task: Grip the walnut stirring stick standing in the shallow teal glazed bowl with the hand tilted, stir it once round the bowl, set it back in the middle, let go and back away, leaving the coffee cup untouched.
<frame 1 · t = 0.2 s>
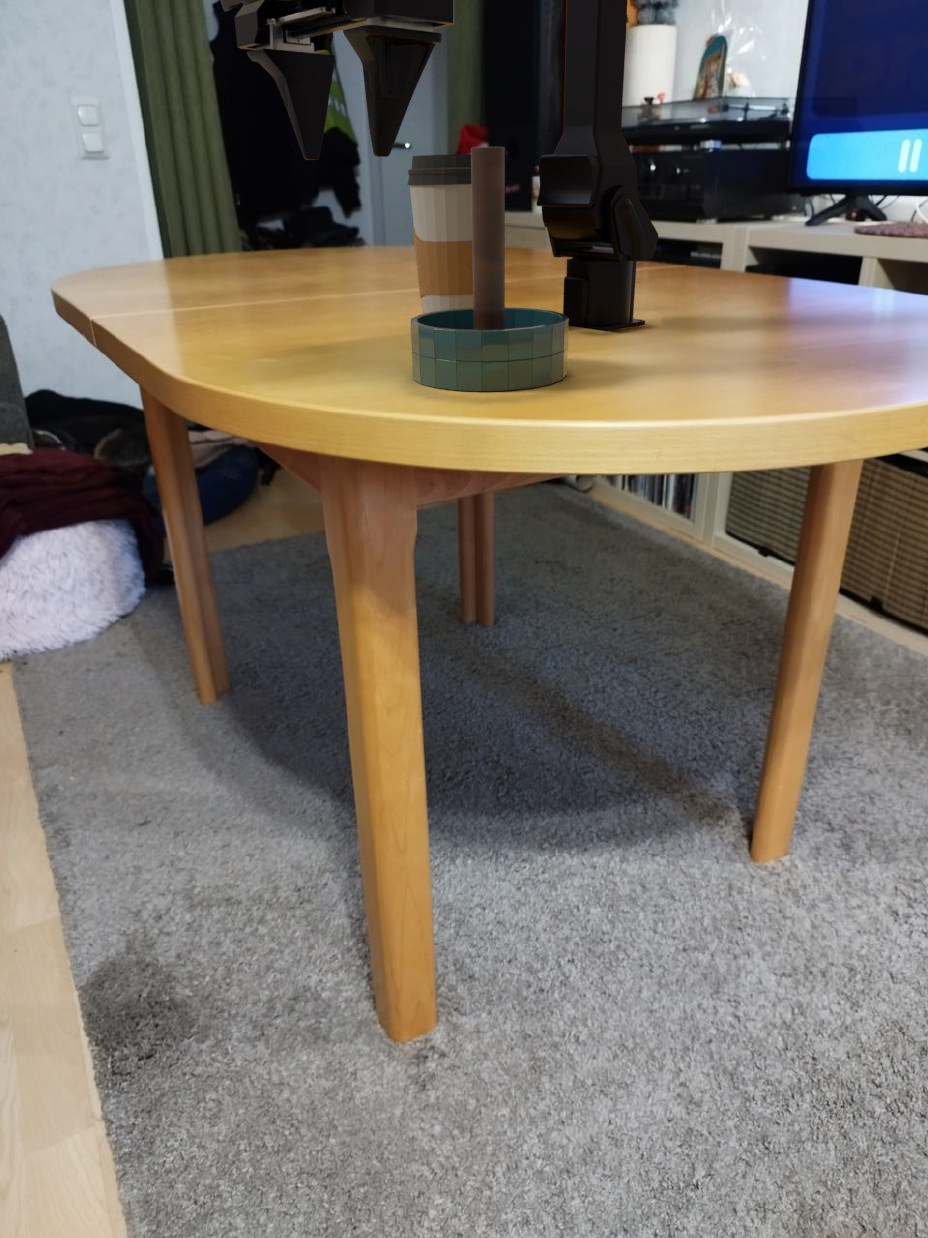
hand: (344, 158, 64), 15 cm above the table, tool pointing down, fingers open, 9 cm apart
coffee cup: (457, 334, 85), on the table
bowl: (489, 382, 64), on the table
stick: (489, 374, 64), point 1 cm above the table, touching bowl
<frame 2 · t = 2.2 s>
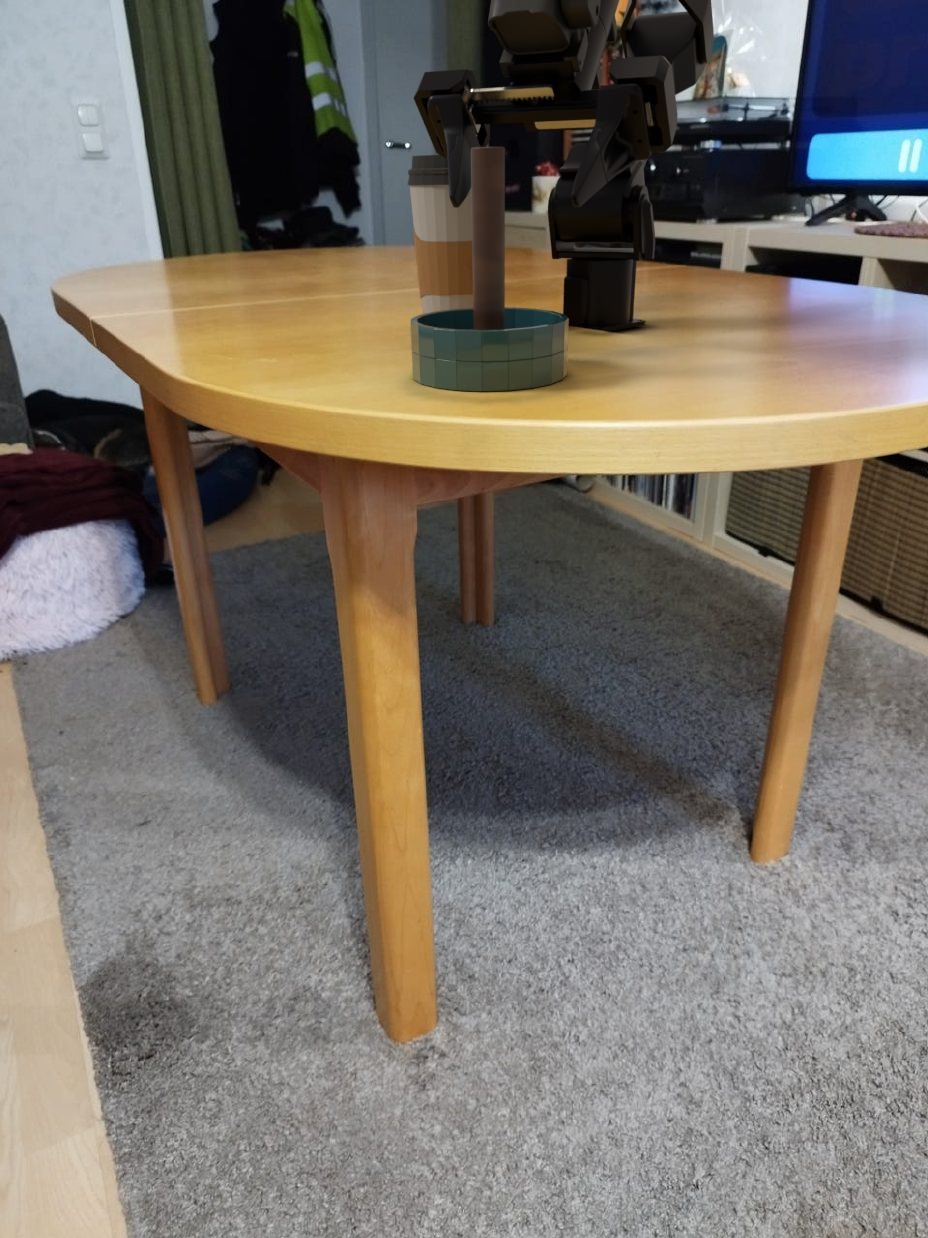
hand: (512, 202, 63), 12 cm above the table, tool tilted 45°, fingers open, 9 cm apart
nothing on the table moved.
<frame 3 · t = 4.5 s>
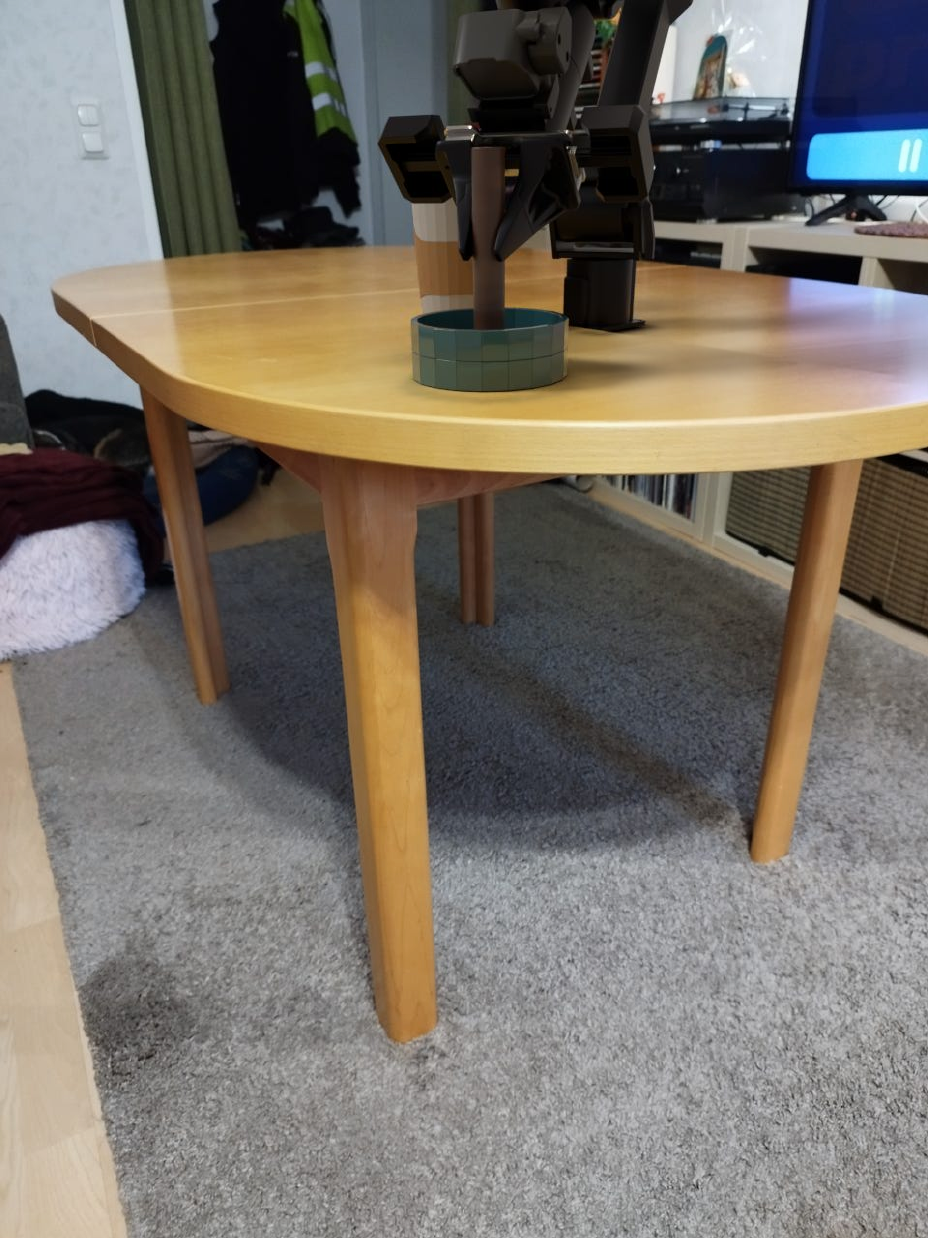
hand: (480, 256, 59), 9 cm above the table, tool tilted 45°, fingers closed on stick, 2 cm apart
stick: (489, 374, 64), point 1 cm above the table, touching bowl, gripper
everything else where it was.
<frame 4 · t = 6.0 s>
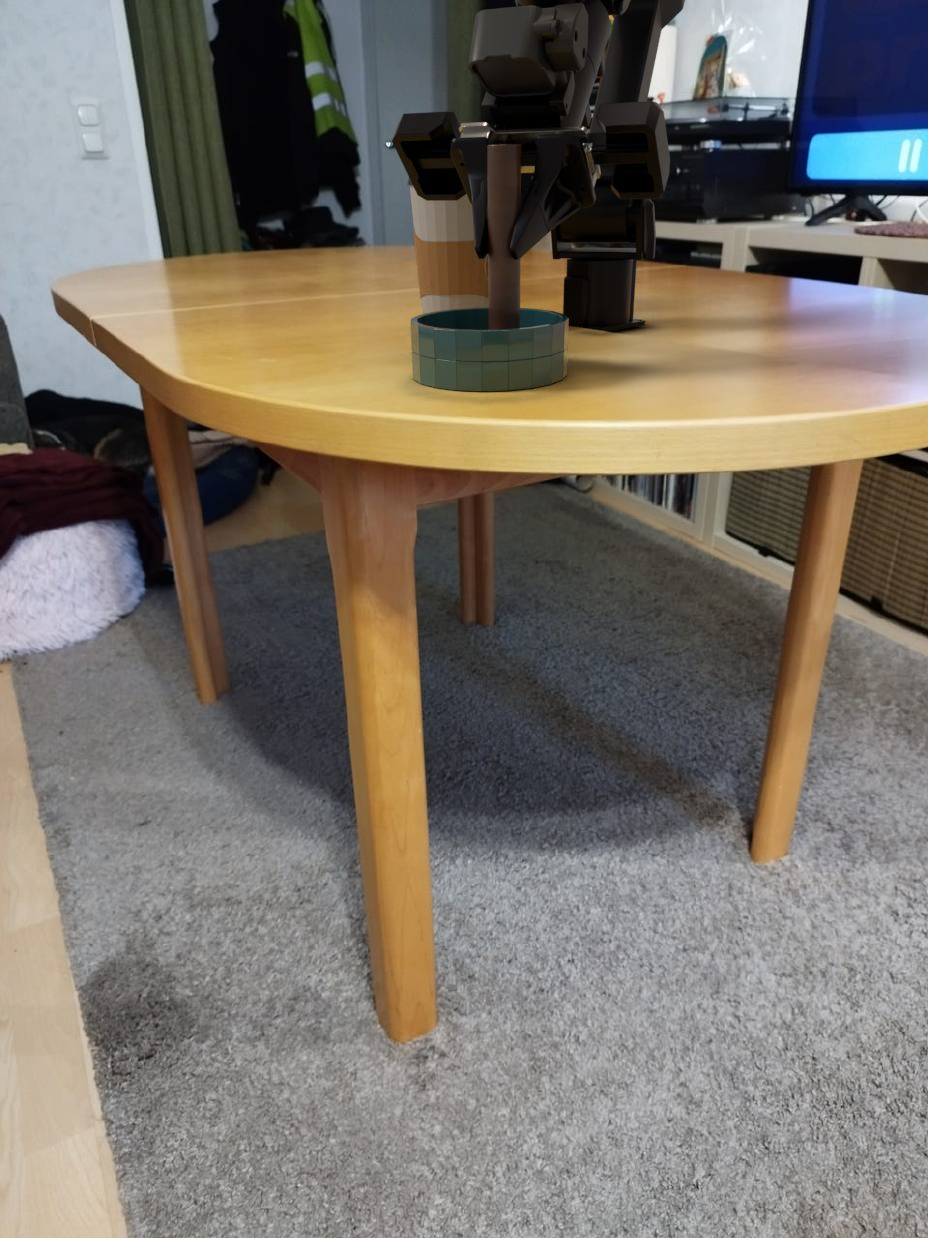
hand: (496, 254, 59), 9 cm above the table, tool tilted 45°, fingers closed on stick, 2 cm apart
stick: (504, 372, 64), point 1 cm above the table, touching gripper
everything else where it was.
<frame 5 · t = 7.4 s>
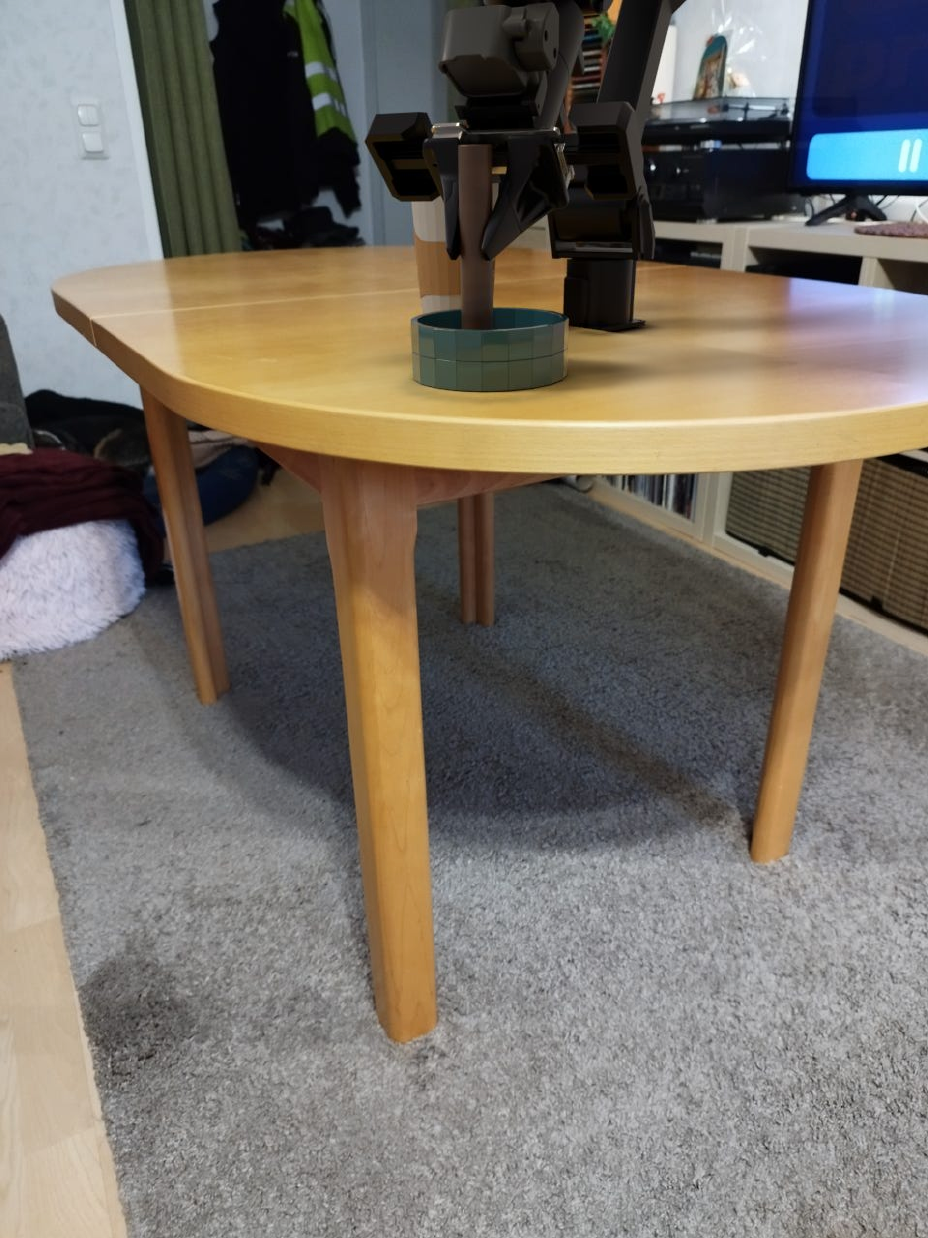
hand: (467, 255, 59), 9 cm above the table, tool tilted 45°, fingers closed on stick, 2 cm apart
stick: (478, 374, 64), point 1 cm above the table, touching gripper
everything else where it was.
when the fingers open (9 cm above the table, at t = 8.0 s): stick stays where it is, resting on bowl.
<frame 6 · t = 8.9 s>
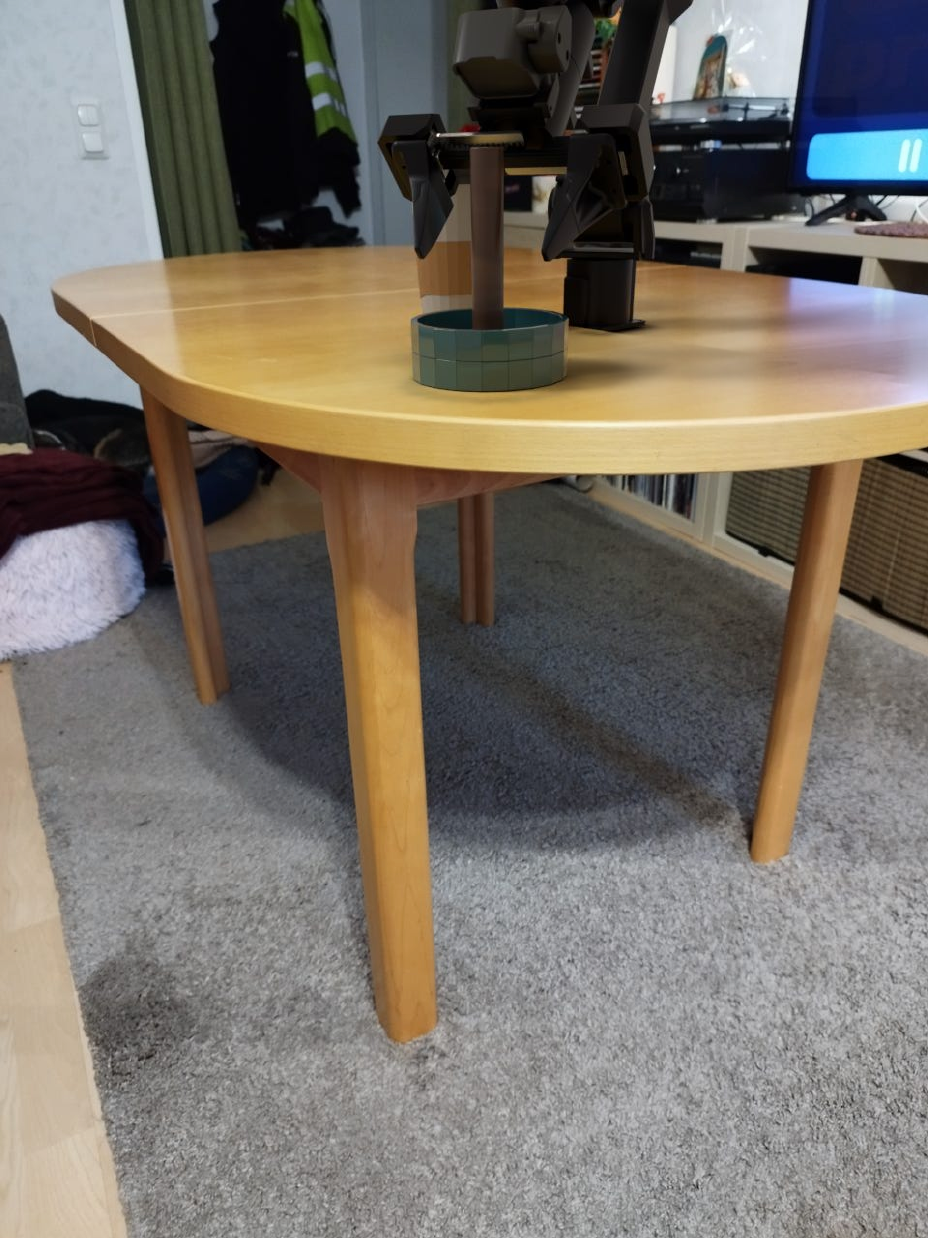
hand: (480, 255, 59), 9 cm above the table, tool tilted 45°, fingers open, 9 cm apart
stick: (488, 374, 64), point 1 cm above the table, touching bowl
everything else where it was.
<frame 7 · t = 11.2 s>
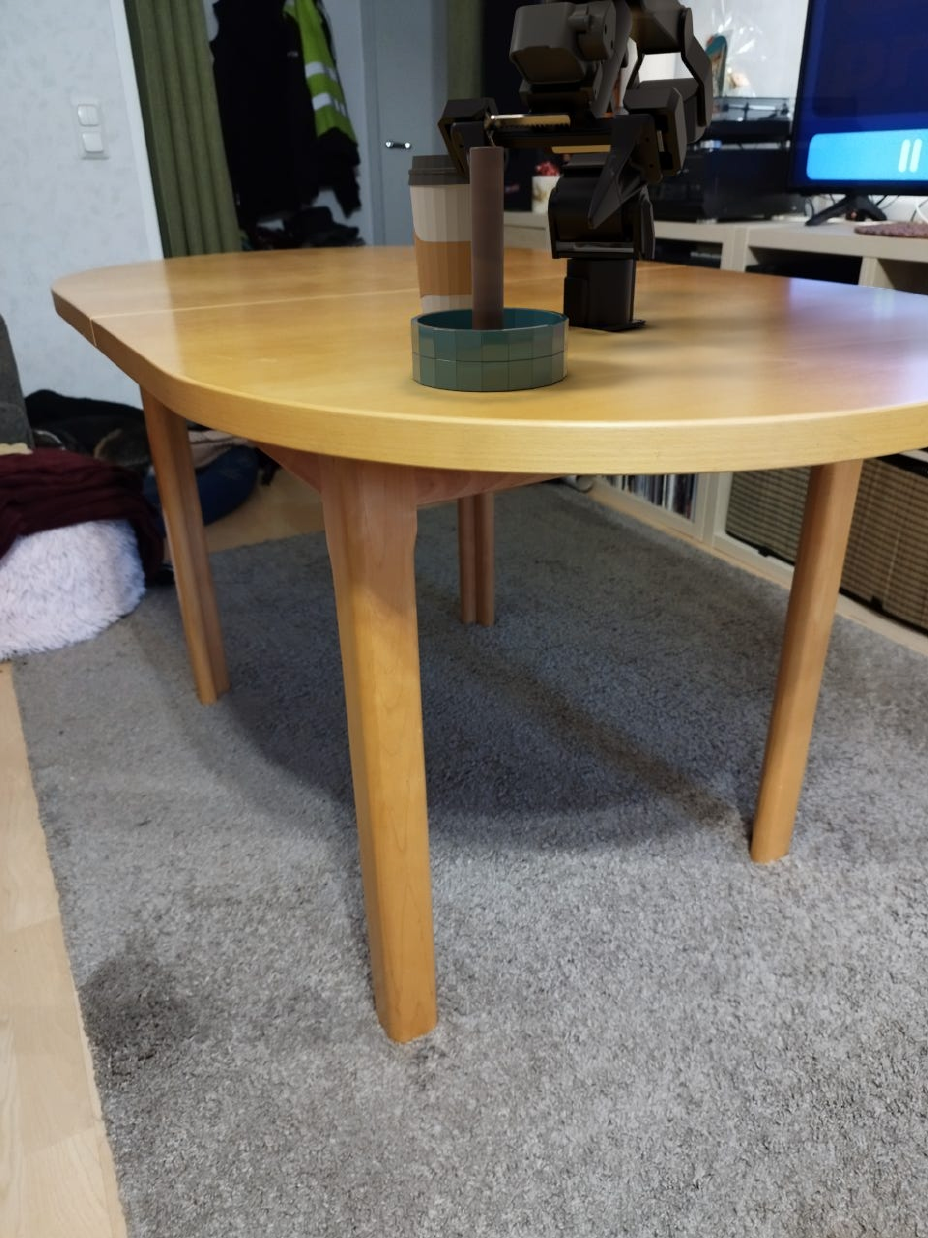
hand: (531, 224, 67), 10 cm above the table, tool tilted 45°, fingers open, 9 cm apart
nothing on the table moved.
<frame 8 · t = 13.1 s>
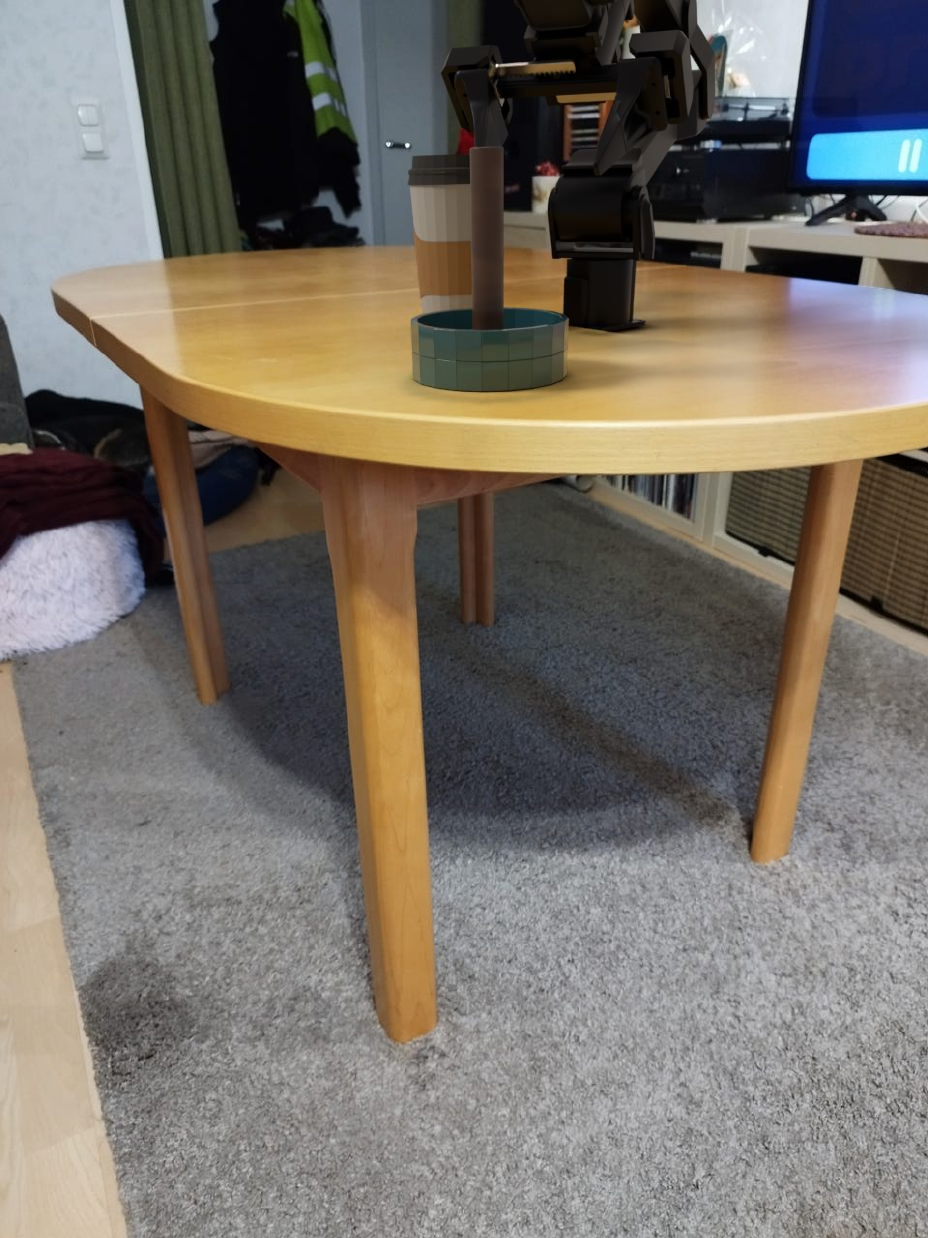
hand: (536, 171, 66), 14 cm above the table, tool tilted 45°, fingers open, 9 cm apart
nothing on the table moved.
at the end: stick inside the target area in the bowl (0.1 cm from its centre), point 0.6 cm above the bowl's base; the gripper is holding nothing; coffee cup moved 0.2 cm from its start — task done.
